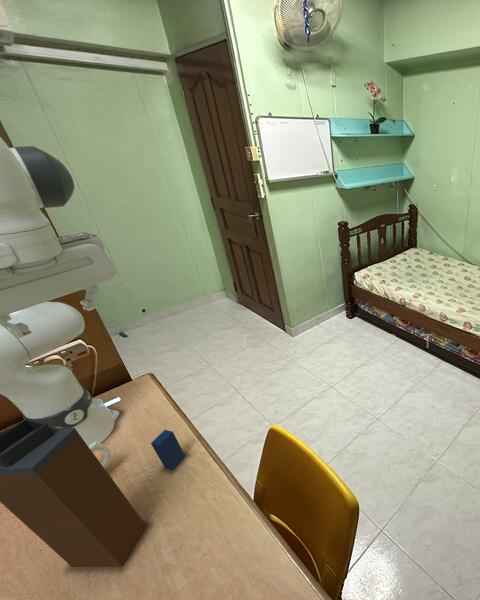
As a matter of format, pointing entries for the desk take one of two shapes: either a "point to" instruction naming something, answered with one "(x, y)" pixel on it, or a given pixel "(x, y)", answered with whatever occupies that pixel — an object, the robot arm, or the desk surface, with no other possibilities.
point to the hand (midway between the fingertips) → (59, 320)
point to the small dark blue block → (168, 449)
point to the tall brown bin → (66, 495)
